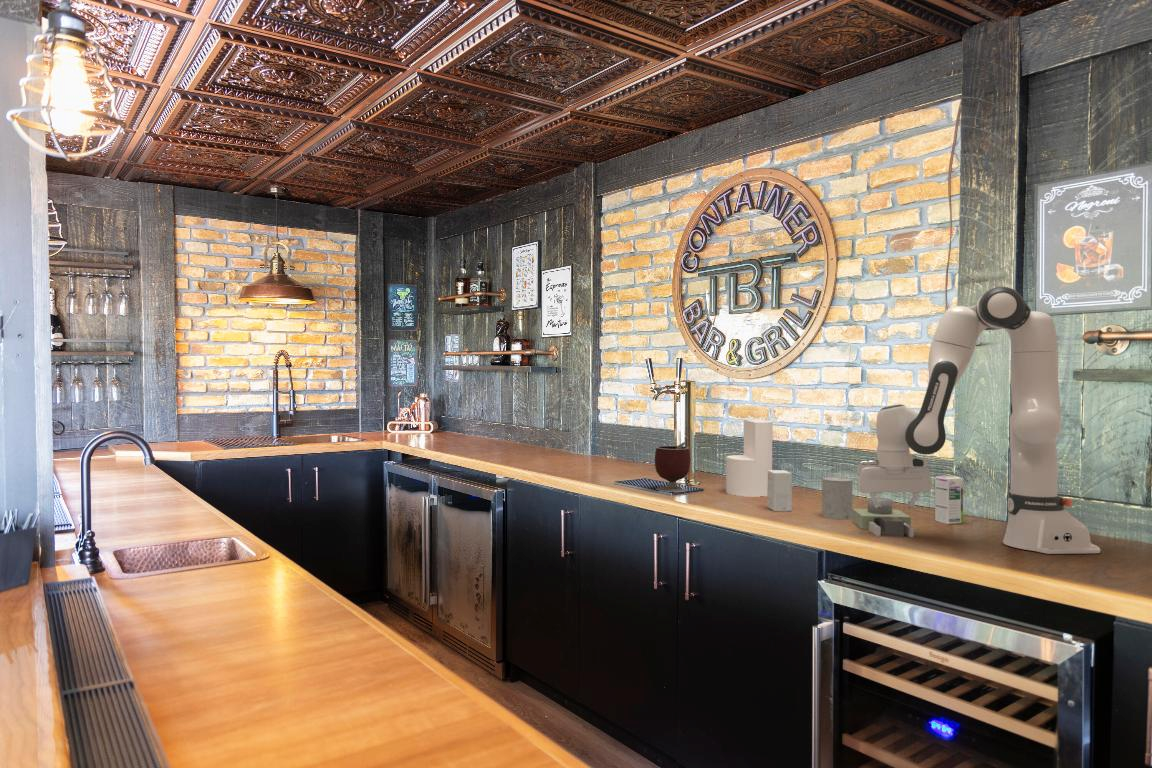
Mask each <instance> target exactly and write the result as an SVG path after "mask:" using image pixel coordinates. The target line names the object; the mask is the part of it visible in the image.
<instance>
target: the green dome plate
mask: <svg viewBox="0 0 1152 768" xmlns="http://www.w3.org/2000/svg"><path fill="white" fill-rule="evenodd" d="M875 498H876V499H877V501H880V502H881V508H875V506H874V501H873V499H872V497H868V498H867V508H852V518H851V520H852V522H853V523H854V524H855V525H856V526H857V527H859V528H860V529H861V530H868V531H869V532H870V533H872V534H873V535H874V536H876V537H881V534H882V533H881V527H879V516H882V517H898V518H899V519H901V520H902V521H904V535H905V536H908V537H909V538H914V536H915V527H913V526H912V525H911V522H912V518H911V516H909V515H908V514H906V513H904V512H902V510H899V509H893V499H891V498H887V497H877V496H875Z"/></svg>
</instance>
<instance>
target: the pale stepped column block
mask: <svg viewBox="0 0 1152 768" xmlns="http://www.w3.org/2000/svg"><path fill="white" fill-rule="evenodd" d="M773 422H774V421H772V420H767V419H765V420H764V419H743V454H736V455H735V454H733V455H727V456H726V457H725V458H726V459H725V460H726V461H725V462H726V464H725V465H726V468H725V471H726V472H725V475H726V476H725V486H726V487H725V492H726V494H728V495H730V494H731V495H730V496H735V495H736V497H744V498H745V497H750V498H758V497H759V498H760V496H764V497H767V488H768V470H773Z"/></svg>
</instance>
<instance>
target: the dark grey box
mask: <svg viewBox="0 0 1152 768" xmlns="http://www.w3.org/2000/svg"><path fill="white" fill-rule="evenodd" d="M879 527H881V533H880V534H882V535H883V536H884V537H902V538H903V537H904V535H905V533H904V521H902V520H901V519H899V518H898V517H882V516H879Z"/></svg>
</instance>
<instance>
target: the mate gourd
mask: <svg viewBox="0 0 1152 768" xmlns="http://www.w3.org/2000/svg"><path fill="white" fill-rule="evenodd" d="M686 444H687V442H686V441H683V442H682V443H680V444H678V445H660V446H656V448H655V453H654V467H655V472H656V473H657V475H658V476H659V478H661V479H664V480H665V481H668V484H667V486H661V487H656V491H657V490H658V491H657V492H659V491H665V492H683V491H687V490H688V491H689V489H688V488H687V489H682V488H681V486H678V485H677V482H678V481H680V480H683V479H685V478H686V476H687V475H688V474H689V472H690V466H691V452H690V447H689V446H685V445H686Z"/></svg>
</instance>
